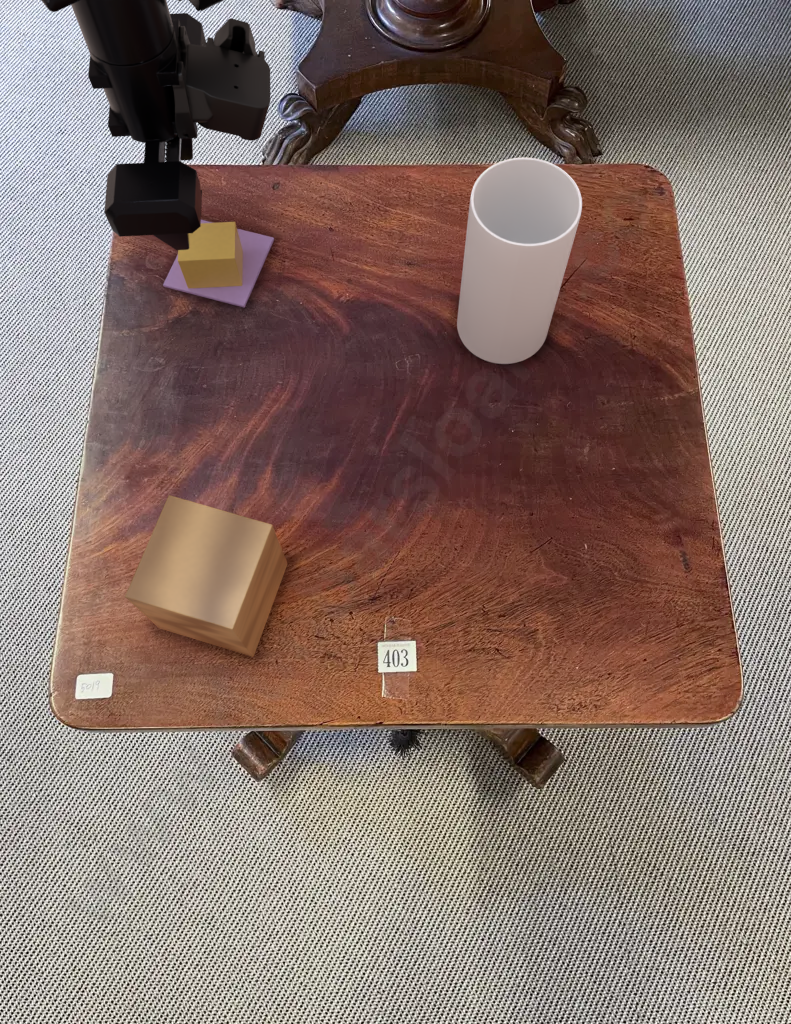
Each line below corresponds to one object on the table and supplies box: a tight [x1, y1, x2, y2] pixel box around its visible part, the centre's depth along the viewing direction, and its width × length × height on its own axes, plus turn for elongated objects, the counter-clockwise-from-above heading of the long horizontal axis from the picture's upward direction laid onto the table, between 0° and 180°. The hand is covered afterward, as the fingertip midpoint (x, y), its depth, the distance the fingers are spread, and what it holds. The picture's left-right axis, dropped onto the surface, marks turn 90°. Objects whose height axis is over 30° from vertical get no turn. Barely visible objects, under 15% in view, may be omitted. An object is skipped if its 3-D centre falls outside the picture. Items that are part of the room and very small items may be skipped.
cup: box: [456, 157, 583, 365], centre depth 70 cm, size 8×8×16 cm
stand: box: [124, 494, 288, 658], centre depth 64 cm, size 8×8×9 cm
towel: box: [162, 219, 275, 308], centre depth 80 cm, size 8×8×1 cm
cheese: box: [177, 221, 243, 288], centre depth 78 cm, size 5×4×4 cm
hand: (184, 202), depth 70 cm, fingers open, 9 cm apart
